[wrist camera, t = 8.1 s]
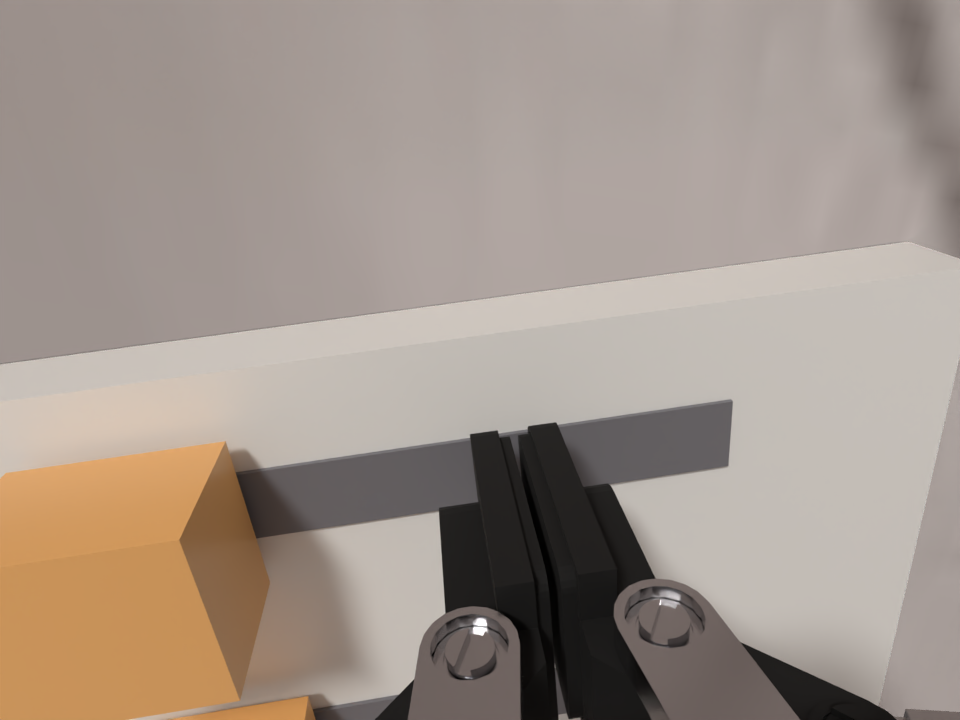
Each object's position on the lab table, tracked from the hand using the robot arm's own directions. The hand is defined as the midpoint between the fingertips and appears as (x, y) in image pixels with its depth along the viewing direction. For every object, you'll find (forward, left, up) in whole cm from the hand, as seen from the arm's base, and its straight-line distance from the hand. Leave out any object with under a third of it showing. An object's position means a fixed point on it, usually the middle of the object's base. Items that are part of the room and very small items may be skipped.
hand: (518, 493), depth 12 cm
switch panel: (+3, +4, -3) cm, 6 cm away
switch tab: (+7, 0, -1) cm, 7 cm away
